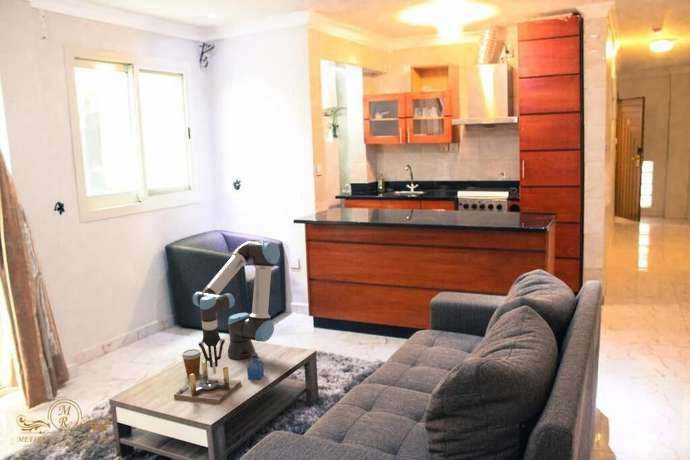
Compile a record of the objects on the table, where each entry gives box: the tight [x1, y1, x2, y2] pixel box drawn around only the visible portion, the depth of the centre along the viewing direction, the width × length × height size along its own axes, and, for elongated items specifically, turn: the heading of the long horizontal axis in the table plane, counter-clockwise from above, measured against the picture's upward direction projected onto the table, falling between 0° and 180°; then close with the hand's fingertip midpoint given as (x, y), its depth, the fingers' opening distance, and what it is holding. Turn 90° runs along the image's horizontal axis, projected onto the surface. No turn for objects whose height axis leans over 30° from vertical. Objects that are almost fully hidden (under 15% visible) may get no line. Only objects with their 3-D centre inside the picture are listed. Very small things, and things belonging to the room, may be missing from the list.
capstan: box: [189, 360, 230, 395], centre depth 277 cm, size 16×18×10 cm
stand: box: [173, 375, 242, 405], centre depth 276 cm, size 21×24×4 cm
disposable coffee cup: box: [181, 348, 202, 378], centre depth 296 cm, size 10×10×12 cm
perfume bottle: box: [246, 353, 265, 381], centre depth 289 cm, size 6×6×12 cm
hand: (214, 372), depth 285 cm, fingers closed
